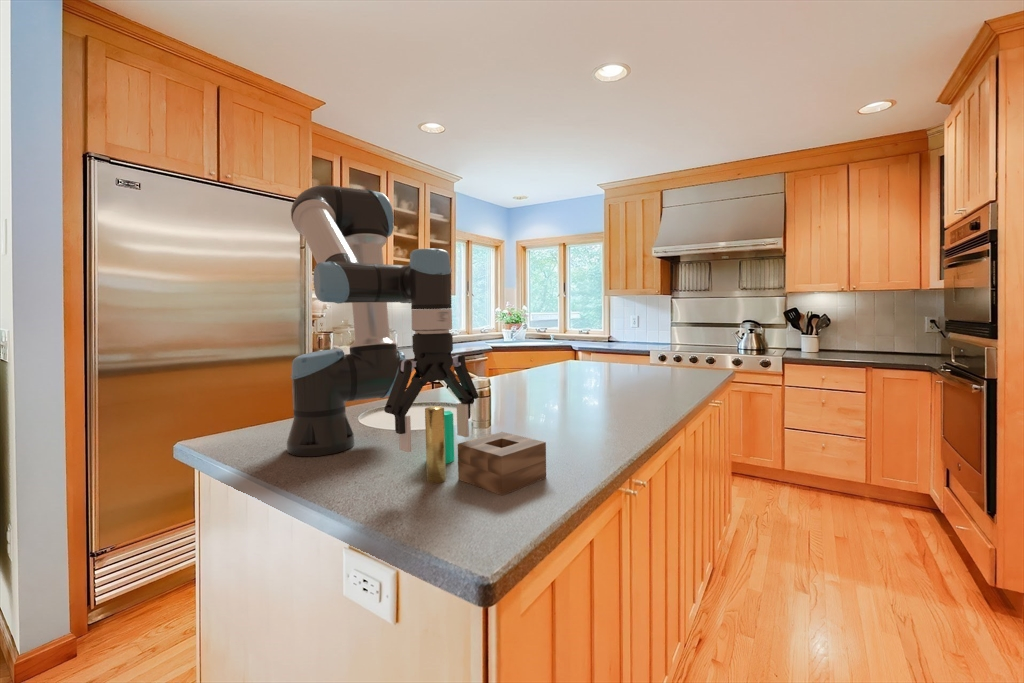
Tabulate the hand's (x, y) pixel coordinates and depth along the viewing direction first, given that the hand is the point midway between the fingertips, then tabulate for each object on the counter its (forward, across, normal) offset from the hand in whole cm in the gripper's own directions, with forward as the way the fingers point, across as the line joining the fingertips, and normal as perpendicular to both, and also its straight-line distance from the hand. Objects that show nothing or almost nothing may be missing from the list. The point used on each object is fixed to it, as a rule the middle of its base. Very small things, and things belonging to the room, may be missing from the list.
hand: (435, 443), depth 93 cm
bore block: (+7, +9, -9) cm, 15 cm away
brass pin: (+7, 0, 0) cm, 7 cm away
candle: (+7, +8, +10) cm, 15 cm away
